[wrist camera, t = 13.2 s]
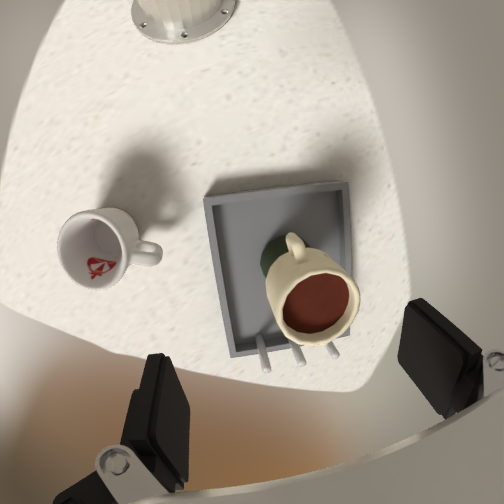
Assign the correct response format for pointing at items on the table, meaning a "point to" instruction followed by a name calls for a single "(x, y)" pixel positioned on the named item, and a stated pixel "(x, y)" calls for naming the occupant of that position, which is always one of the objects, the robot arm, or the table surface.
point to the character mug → (308, 291)
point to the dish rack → (252, 245)
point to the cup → (102, 247)
